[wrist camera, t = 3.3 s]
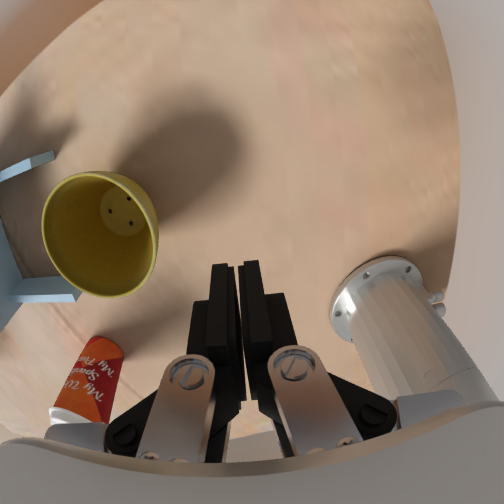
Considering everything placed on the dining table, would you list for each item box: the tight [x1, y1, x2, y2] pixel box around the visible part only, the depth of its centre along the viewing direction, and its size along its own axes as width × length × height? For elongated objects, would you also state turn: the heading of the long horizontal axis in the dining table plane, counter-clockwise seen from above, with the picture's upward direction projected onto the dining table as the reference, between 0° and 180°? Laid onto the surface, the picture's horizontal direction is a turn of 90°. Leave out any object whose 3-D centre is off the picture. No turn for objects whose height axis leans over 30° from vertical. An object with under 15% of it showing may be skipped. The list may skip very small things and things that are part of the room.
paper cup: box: [49, 337, 123, 425], centre depth 26 cm, size 8×8×14 cm
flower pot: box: [41, 171, 159, 299], centre depth 20 cm, size 10×10×7 cm
